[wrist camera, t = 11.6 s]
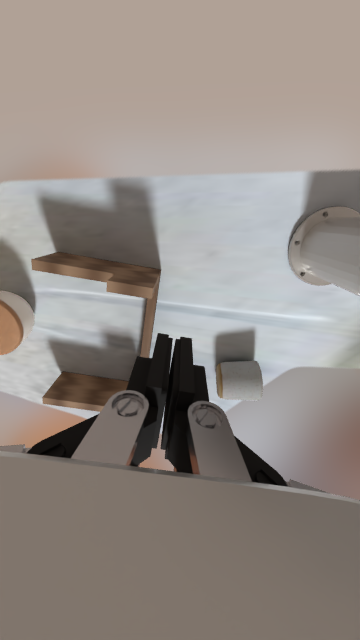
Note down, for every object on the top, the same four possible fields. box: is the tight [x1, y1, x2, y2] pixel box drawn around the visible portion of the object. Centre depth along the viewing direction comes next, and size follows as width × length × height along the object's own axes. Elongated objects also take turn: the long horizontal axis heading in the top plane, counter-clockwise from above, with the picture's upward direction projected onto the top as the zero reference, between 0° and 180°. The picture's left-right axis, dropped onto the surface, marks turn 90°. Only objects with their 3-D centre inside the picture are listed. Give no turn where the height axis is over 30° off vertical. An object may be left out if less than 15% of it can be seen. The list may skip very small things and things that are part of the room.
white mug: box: [216, 361, 263, 401], centre depth 47 cm, size 11×8×8 cm
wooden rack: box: [31, 252, 161, 412], centre depth 41 cm, size 18×27×12 cm, turn 170°
